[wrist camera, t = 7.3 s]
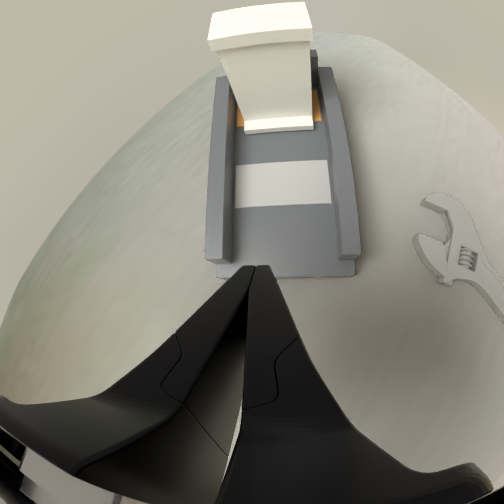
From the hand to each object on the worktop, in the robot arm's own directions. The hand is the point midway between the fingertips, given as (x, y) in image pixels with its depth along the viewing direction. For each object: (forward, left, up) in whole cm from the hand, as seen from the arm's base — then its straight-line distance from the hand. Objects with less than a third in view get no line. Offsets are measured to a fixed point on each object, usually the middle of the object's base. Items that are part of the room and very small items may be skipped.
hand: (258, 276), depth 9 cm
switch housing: (+8, +6, -13) cm, 16 cm away
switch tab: (+12, +10, -11) cm, 19 cm away
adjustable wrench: (+10, -17, -13) cm, 24 cm away
